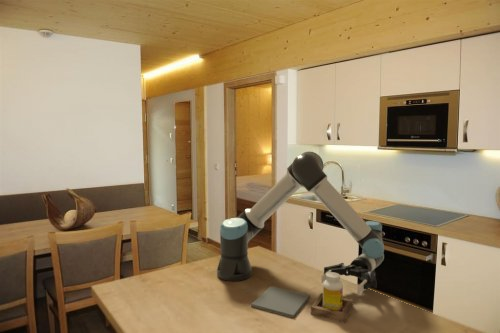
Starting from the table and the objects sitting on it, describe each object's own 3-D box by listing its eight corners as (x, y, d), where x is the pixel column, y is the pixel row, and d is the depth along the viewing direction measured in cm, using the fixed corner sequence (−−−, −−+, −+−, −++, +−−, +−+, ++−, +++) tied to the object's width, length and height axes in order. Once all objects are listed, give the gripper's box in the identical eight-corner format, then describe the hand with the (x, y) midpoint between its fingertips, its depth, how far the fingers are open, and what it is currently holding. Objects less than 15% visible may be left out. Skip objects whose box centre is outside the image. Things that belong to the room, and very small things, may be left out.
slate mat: (251, 306, 125) (251, 303, 125) (270, 288, 139) (270, 286, 138) (293, 318, 117) (293, 315, 117) (309, 297, 131) (309, 295, 131)
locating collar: (310, 313, 119) (311, 306, 119) (321, 299, 129) (321, 292, 129) (344, 322, 114) (345, 315, 114) (353, 306, 124) (353, 300, 124)
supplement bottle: (342, 316, 118) (343, 279, 116) (322, 314, 119) (323, 278, 118) (341, 306, 124) (342, 271, 123) (322, 304, 126) (323, 270, 124)
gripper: (394, 283, 133) (375, 305, 116) (333, 267, 148) (308, 285, 132) (395, 264, 132) (375, 284, 116) (333, 250, 148) (308, 265, 131)
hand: (340, 284), depth 124 cm, fingers open, 13 cm apart
